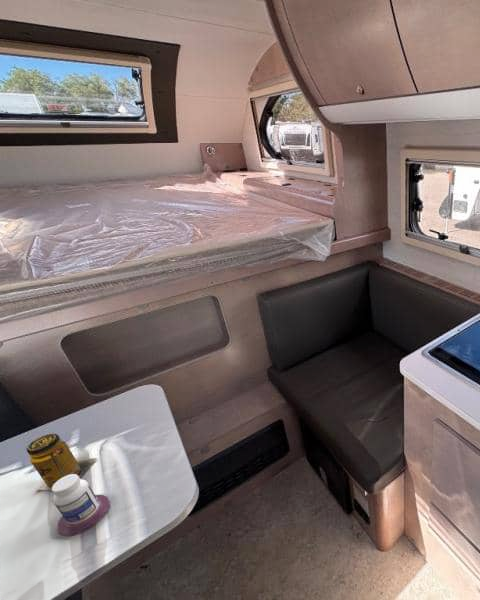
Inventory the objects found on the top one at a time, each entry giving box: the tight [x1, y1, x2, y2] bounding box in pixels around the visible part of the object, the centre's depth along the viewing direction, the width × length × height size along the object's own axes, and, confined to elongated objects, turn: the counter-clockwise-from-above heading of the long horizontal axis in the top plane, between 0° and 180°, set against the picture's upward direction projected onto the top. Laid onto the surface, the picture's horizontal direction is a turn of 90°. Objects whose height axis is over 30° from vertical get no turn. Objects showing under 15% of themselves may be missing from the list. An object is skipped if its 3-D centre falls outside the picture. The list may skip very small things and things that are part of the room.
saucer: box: [56, 494, 111, 537], centre depth 70 cm, size 8×8×1 cm
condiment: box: [26, 433, 98, 491], centre depth 77 cm, size 7×8×12 cm
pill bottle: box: [51, 474, 99, 524], centre depth 68 cm, size 5×5×10 cm
